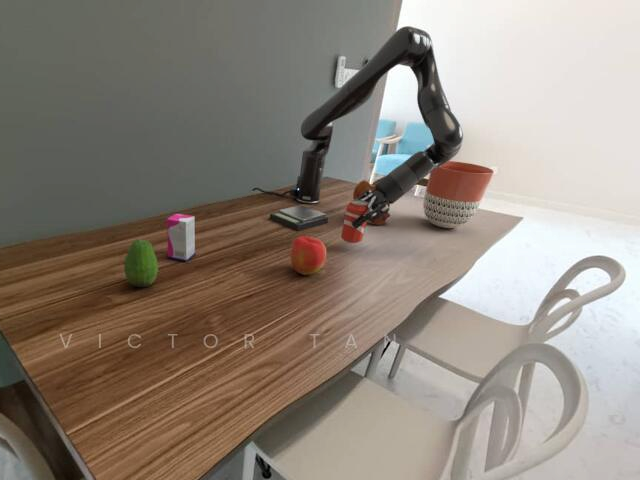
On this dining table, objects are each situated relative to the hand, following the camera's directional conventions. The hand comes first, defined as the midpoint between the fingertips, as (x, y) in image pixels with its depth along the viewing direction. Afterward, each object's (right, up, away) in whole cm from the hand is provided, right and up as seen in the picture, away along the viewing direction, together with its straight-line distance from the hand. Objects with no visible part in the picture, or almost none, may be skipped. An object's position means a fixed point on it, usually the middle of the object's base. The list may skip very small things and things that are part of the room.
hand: (349, 222), depth 118 cm
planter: (+43, +4, +30) cm, 52 cm away
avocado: (-57, -20, -22) cm, 64 cm away
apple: (-15, -16, -11) cm, 25 cm away
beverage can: (+1, -5, +3) cm, 6 cm away
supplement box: (-50, -11, -6) cm, 51 cm away
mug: (+15, +5, +28) cm, 33 cm away
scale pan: (-10, +8, +25) cm, 28 cm away
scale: (-12, +6, +25) cm, 28 cm away
